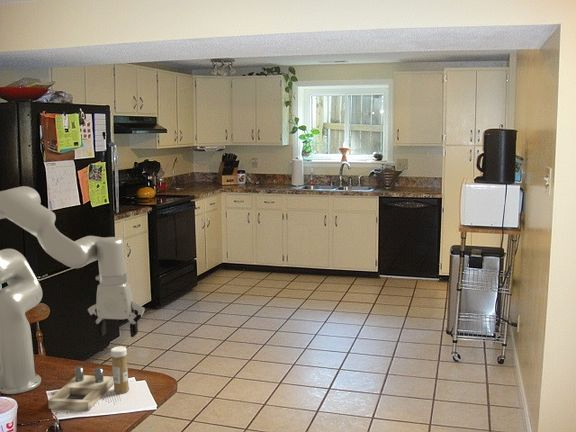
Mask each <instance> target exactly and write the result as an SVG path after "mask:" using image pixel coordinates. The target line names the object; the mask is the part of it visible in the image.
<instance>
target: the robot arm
mask: <svg viewBox="0 0 576 432" xmlns="http://www.w3.org/2000/svg"><path fill="white" fill-rule="evenodd" d="M41 203H42V201H41V196H40V194H39V192H38V191H37V190H36V189H35V188H33V187H30V186H26V185H25V186H24V185H23V186H18V187H13V188H9V189H6V190H1V191H0V220H2V219H3V220H4V219H7V220H9V221H11V222H12V223H14V224H15V225H17V226H19V227H20V228H22V229H23V230H24V231H26V232H28V233H30V234H31V235H33V236H34V237H36V238H37V241H38V243H39V245H40V246H41V247H42V249H43V250H44V252H45V253H47V254H48V255H49V256H50V257H51V258H53V259H54V260H56V261H57V262H60V264H61V263H62V265H65V266H66V267H69V268H72V269H80V268H83V267H85V266H87V265H89V264H91V263H93V262H96V261H98V262H97V263H98V272H99V273H98V275H96V276H95V280H96V281H99V284H98V285H97V289H96V302H95V304H93V305H91V306H90V307H89V308H87V312H88V313H89V315H90V317H91V319H93V320H94V321H95V323H96V325H97V331H98V332H97V333H99V338H100V337H101V338H102V337H103V336H105V335H106V334H107V325H106V320H128V321H129V322H130V324H129V331H130V337H131V338H135V337H136V335H137V334H138V332H139V328H138V322H139V320H141V319H142V317H143V315H144V312H145V311H146V308H145V307H144V306H141V305H140V304H137V303H135V302H134V296H133V292H132V288H131V284H130V283H129V282H128V278H127V266H126V255H125V244H124V240H123V239H122V237H119V236H118V237H117V236H108V237H107V236H106V237H101V236H98V235H97V236H95V235H87V236H84V237H81V238H79V239H77V240H75V241H74V240H72V239H71V238H69V237H68V236H66V235H64V234H63V233H61V232H60V231H59V229H58V228H57V227H56V225H55V223H56V219H57V217H56V213H55V212H53V211H52V210H50V209H48V208H47V207H46V206H44V205H42V204H41ZM4 283H7V286H5V287H3V288H1V289H0V393H1V394H4V395H16V394H22V393H26V392H30V391H31V390H34V389H35V388H37V387H39V386H40V384H41V383H42V378H41V376H40V375H39V374H37V373H36V370H35V361H34V359H35V358H34V351H33V350H34V347H33V339H32V337H33V336H32V331H31V324H30V323H29V321H28V319H27V316H26V312H28V311H30V310H32V309H33V308H34V307H36V306H37V305H39V304H40V303H41V301H42V298H43V289H42V287H41V283H40V282H39V280H38V279H37V276H36V275H35V273H34V271H33V269H32V268H31V266H30V263H29V262H28V260H27V258H26V256H24V255H23V253H21V252H20V251H18V250H16V249H14V248H4V249H0V285H2V284H4ZM135 311H137V315H136V314H135Z"/></svg>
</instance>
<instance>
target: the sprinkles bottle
mask: <svg viewBox="0 0 576 432" xmlns="http://www.w3.org/2000/svg"><path fill="white" fill-rule="evenodd" d="M127 351H128V350H127V347H126V346H121V345H120V346H115V347H113V348H111V349H110V357H111V368H112V369H111V370H112V377H113V382H114V384H113V392H114V393H115V394H118V395H119V394H120V395H121V394H125V393H127V392H128V391H129V390H130V386H129V373H128V372H129V371H128V363H127V362H128V361H127V354H128V352H127Z"/></svg>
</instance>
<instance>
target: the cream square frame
mask: <svg viewBox="0 0 576 432" xmlns="http://www.w3.org/2000/svg"><path fill="white" fill-rule="evenodd" d="M112 387H114V382H113V376H109V375H106V376H105V375H104V368H103V367H102V366H98V367H95V368H94V375H86V374H84V367H83V366H81V365H77V366H76V367H74V376H73V377H72V378H71V379H69V381H68V382H67V383H66V384H65V385H63V386H62V387H61V388H60V389H59V390H58V391H57V392H56V393H54V395H52V396H51V397H50V398H49V399H48V400H47V403H48V409H49V410H50V409H52V410H70V411H82V412H83V411H84V412H85V411H86V412H89V411H90V410H91V408H92V409H93V407H94V406H95V405H96V404H97V402H99V400H100V399H102V398H103V396H104V395H105V394H106V393H107V392H108V391H109V390H110V389H111V388H112Z"/></svg>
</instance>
